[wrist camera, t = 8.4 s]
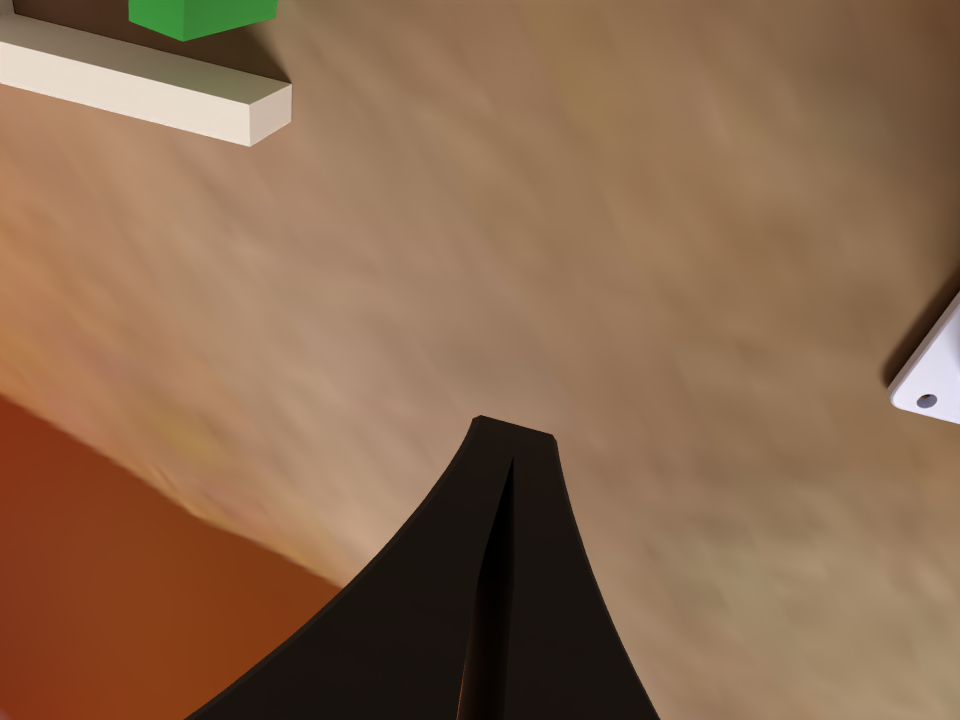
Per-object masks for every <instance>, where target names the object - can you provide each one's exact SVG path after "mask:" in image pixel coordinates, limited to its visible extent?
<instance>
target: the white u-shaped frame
mask: <svg viewBox="0 0 960 720" xmlns="http://www.w3.org/2000/svg"><path fill="white" fill-rule="evenodd" d="M0 83H2V84H6V85H10V86H14V87H17V88H21V89H25V90H29V91H33V92H37V93H41V94H45V95H49V96H53V97H57V98H61V99H65V100H68V101H72V102H76V103H80V104H84V105H88V106H92V107H96V108H100V109H104V110H108V111H112V112H115V113H119V114H123V115H127V116H131V117H135V118H139V119H143V120H147V121H151V122H155V123H159V124H162V125H166V126H170V127H174V128H178V129H182V130H186V131H190V132H194V133H198V134H202V135H206V136H209V137H213V138H217V139H221V140H225V141H229V142H233V143H237V144H241V145H245V146H249V147H251V146H252V145H254V144H255V143H257V142H259V141H260V140H262V139H264V138H265V137H267V136H269V135H270V134H272V133H273V132H275V131H277V130H278V129H280V128H282V127H283V126H285V125H287V124H288V123H290V122H291V99H292V84H290V83H286V82H282V81H278V80H274V79H270V78H266V77H262V76H258V75H254V74H250V73H246V72H242V71H239V70H235V69H231V68H227V67H223V66H219V65H215V64H211V63H207V62H203V61H199V60H195V59H191V58H187V57H183V56H179V55H175V54H171V53H168V52H164V51H160V50H156V49H152V48H148V47H144V46H140V45H136V44H132V43H128V42H124V41H120V40H116V39H112V38H108V37H104V36H100V35H97V34H93V33H89V32H85V31H81V30H77V29H73V28H69V27H65V26H61V25H57V24H53V23H49V22H45V21H41V20H37V19H33V18H30V17H26V16H22V15H18V14H15V12H14V7H13V3H12V0H0Z"/></svg>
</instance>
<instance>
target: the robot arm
mask: <svg viewBox="0 0 960 720" xmlns="http://www.w3.org/2000/svg"><path fill="white" fill-rule="evenodd" d="M926 394H930V396H929V397H927V398H926V399H923V400H918V399H919V398H920V397H921V396H923V395H926ZM887 396H888V398H889V400H890V401H891V403H892V404H893V405H894V406H895V407H897V408H899V409H903V410H907V411H911V412H915V413H918V414H922V415H926V416H930V417H934V418H938V419H942V420H946V421H950V422H953V423H957V424H960V291H959V293H958V294H957V295H956V297H955V298H954V299H953V301H952V302H951V303H950V305H949V306H948V307H947V309H946V310H945V311H944V313H943V314H942V316H941V317H940V318H939V320H938V321H937V322H936V324H935V325H934V326H933V328H932V329H931V330H930V332H929V333H928V334H927V336H926V337H925V338H924V340H923V341H922V342H921V344H920V345H919V346H918V348H917V349H916V350H915V352H914V353H913V355H912V356H911V357H910V359H909V360H908V361H907V363H906V364H905V365H904V367H903V368H902V369H901V371H900V372H899V373H898V375H897V376H896V377H895V379H894V380H893V381H892V383H891V384H890V385H889V387H888V390H887ZM464 665H465V667H464ZM463 672H464V676H463ZM462 678H463V685H462ZM461 685H462V694H461V700H460V707H459V713H458V720H660V718H659V716H658V714H657V712H656V710H655V709H654V707H653V705H652V703H651V701H650V699H649V697H648V695H647V693H646V691H645V689H644V687H643V685H642V683H641V681H640V679H639V677H638V675H637V673H636V671H635V669H634V667H633V665H632V663H631V661H630V659H629V657H628V654H627V652H626V650H625V648H624V646H623V644H622V642H621V640H620V637H619V635H618V633H617V631H616V628H615V626H614V624H613V622H612V619H611V617H610V614H609V612H608V610H607V607H606V605H605V602H604V600H603V597H602V595H601V592H600V590H599V587H598V584H597V582H596V579H595V577H594V574H593V571H592V569H591V566H590V563H589V560H588V557H587V555H586V552H585V549H584V545H583V542H582V539H581V536H580V533H579V530H578V527H577V524H576V521H575V517H574V514H573V511H572V507H571V504H570V500H569V496H568V492H567V489H566V485H565V481H564V476H563V472H562V468H561V463H560V458H559V452H558V446H557V441H556V440H555V438H554V436H553V435H552V434H548V433H544V432H541V431H537V430H533V429H530V428H526V427H523V426H519V425H515V424H512V423H508V422H504V421H501V420H497V419H493V418H490V417H486V416H482V415H480V416H478V417H475V418H473V419H472V422H471V425H470V428H469V430H468V432H467V435H466V437H465V439H464V441H463V442H462V444H461V446H460V448H459V450H458V451H457V453H456V454H455V456H454V458H453V459H452V461H451V462H450V464H449V465H448V467H447V469H446V470H445V471H444V473H443V474H442V476H441V477H440V478H439V480H438V481H437V482H436V484H435V485H434V487H433V488H432V489H431V491H430V492H429V493H428V495H427V496H426V498H425V499H424V500H423V501H422V503H421V504H420V505H419V507H418V508H417V509H416V510H415V511H414V512H413V514H412V515H411V516H410V517H409V518H408V520H407V521H406V522H405V523H404V524H403V526H402V527H401V528H400V529H399V530H398V531H397V533H396V534H395V535H394V536H393V537H392V539H391V540H390V541H389V542H388V543H387V544H386V545H385V546H384V547H383V548H382V550H381V551H380V552H379V553H378V554H377V555H376V556H375V557H374V558H373V559H372V560H371V561H370V562H369V563H368V564H367V565H366V566H365V567H364V568H363V570H362V571H361V572H360V573H359V574H358V575H357V576H356V577H355V578H354V579H353V580H352V581H351V582H350V583H349V584H348V585H347V586H345V587H344V588H343V589H342V590H341V591H340V592H339V593H338V594H337V595H336V596H335V597H334V598H333V599H332V600H331V601H329V602H328V603H327V604H326V605H325V606H324V607H323V608H322V609H321V610H320V611H319V612H318V613H316V614H315V615H314V616H313V617H312V618H311V619H310V620H309V621H308V622H307V623H306V624H304V626H302V627H301V628H300V629H299V630H297V631H296V632H295V633H294V634H293V635H292V636H291V637H289V638H288V639H287V640H286V641H285V642H283V643H282V644H281V645H280V646H278V647H277V648H276V649H275V650H273V651H272V652H271V653H270V654H268V655H267V656H266V657H265V658H264V659H262V660H261V661H260V662H259V663H257V664H256V665H255V666H254V667H252V668H251V669H250V670H249V671H248V672H246V673H245V674H244V675H242V676H241V677H240V678H239V679H238V680H236V681H235V682H234V683H233V684H231V685H230V686H229V687H227V688H226V689H225V690H224V691H222V692H221V693H220V694H218V695H217V696H216V697H214V698H213V699H212V700H210V701H209V702H208V703H206V704H205V705H203V706H202V707H201V708H199V709H198V710H197V711H195V712H194V713H192V714H191V715H189V716H188V717H187V718H185V719H184V720H456V719H457V712H458V705H459V698H460V691H461Z"/></svg>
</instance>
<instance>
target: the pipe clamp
mask: <svg viewBox="0 0 960 720" xmlns="http://www.w3.org/2000/svg"><path fill="white" fill-rule="evenodd" d="M276 7H277V0H129V21H130V22H133V23H135V24H138V25H141V26H143V27H146V28H148V29H151V30H154V31H156V32H159V33H162V34H164V35H167V36H169V37H172V38H175V39H177V40H180V41H183V42H184V41H187V40H191V39H195V38H199V37H203V36H207V35H211V34H214V33H218V32H222V31H226V30H230V29H234V28H238V27H241V26H245V25H249V24H253V23H257V22H261V21H264V20H268V19H272V18H275V16H276Z"/></svg>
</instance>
